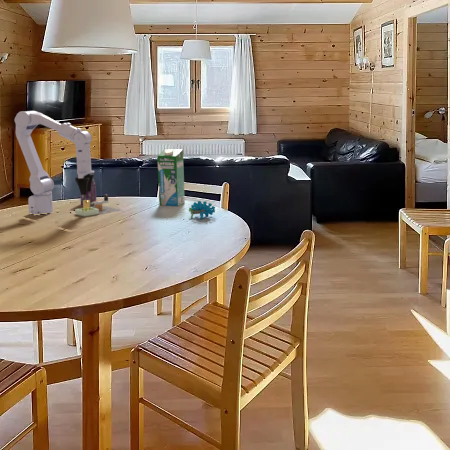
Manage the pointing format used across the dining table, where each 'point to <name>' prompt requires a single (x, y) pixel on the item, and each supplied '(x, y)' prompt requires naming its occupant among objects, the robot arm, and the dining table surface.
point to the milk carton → (171, 177)
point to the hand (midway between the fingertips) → (85, 193)
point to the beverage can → (89, 194)
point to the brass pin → (86, 205)
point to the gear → (201, 209)
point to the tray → (87, 212)
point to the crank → (100, 201)
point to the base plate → (104, 209)
